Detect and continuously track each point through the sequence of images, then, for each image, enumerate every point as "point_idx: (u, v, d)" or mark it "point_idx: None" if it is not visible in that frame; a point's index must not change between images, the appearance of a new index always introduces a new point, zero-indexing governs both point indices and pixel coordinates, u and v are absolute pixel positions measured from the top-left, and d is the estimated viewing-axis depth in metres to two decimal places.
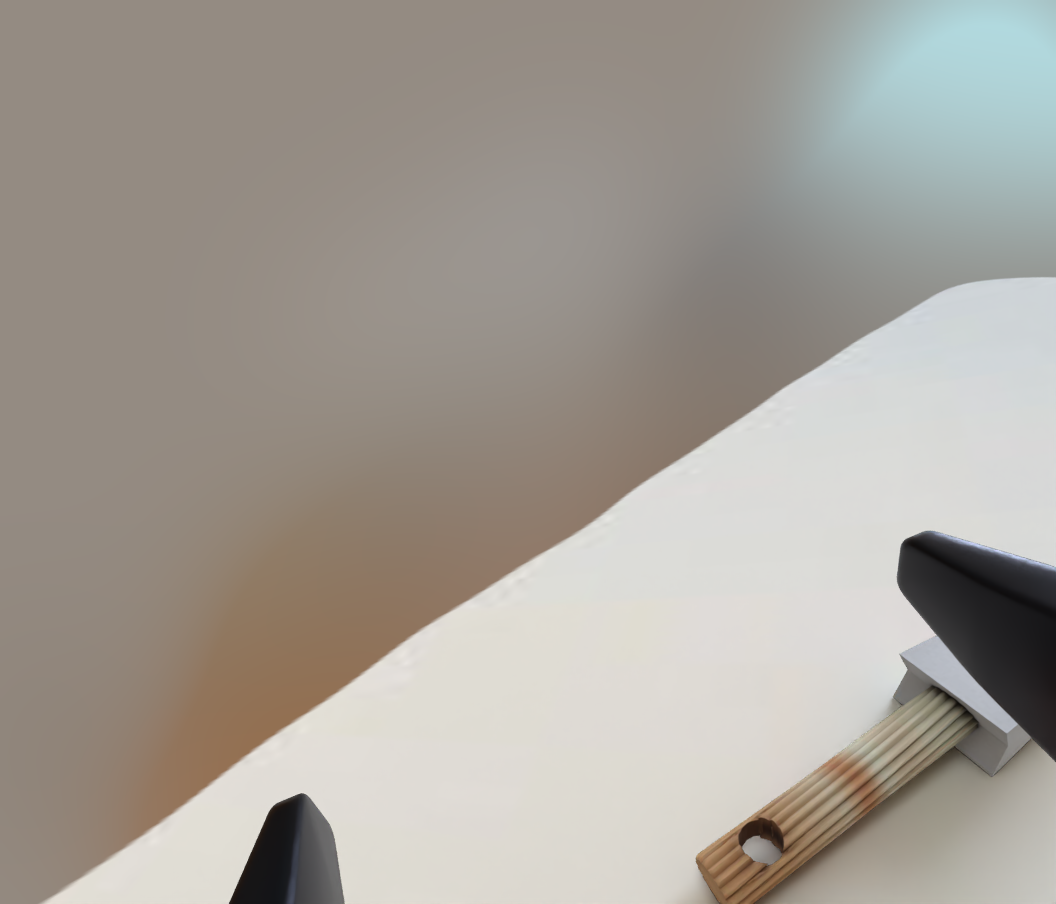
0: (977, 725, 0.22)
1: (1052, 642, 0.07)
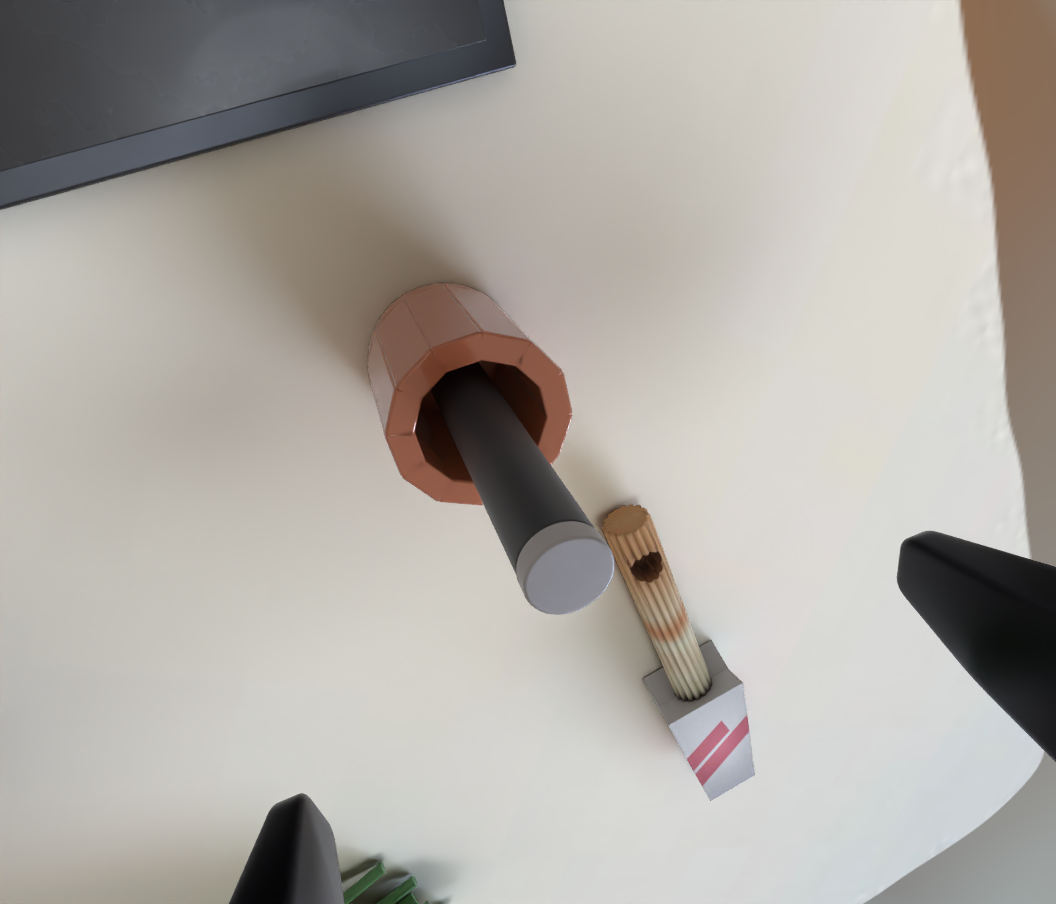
0: (676, 694, 0.29)
1: (1052, 642, 0.07)
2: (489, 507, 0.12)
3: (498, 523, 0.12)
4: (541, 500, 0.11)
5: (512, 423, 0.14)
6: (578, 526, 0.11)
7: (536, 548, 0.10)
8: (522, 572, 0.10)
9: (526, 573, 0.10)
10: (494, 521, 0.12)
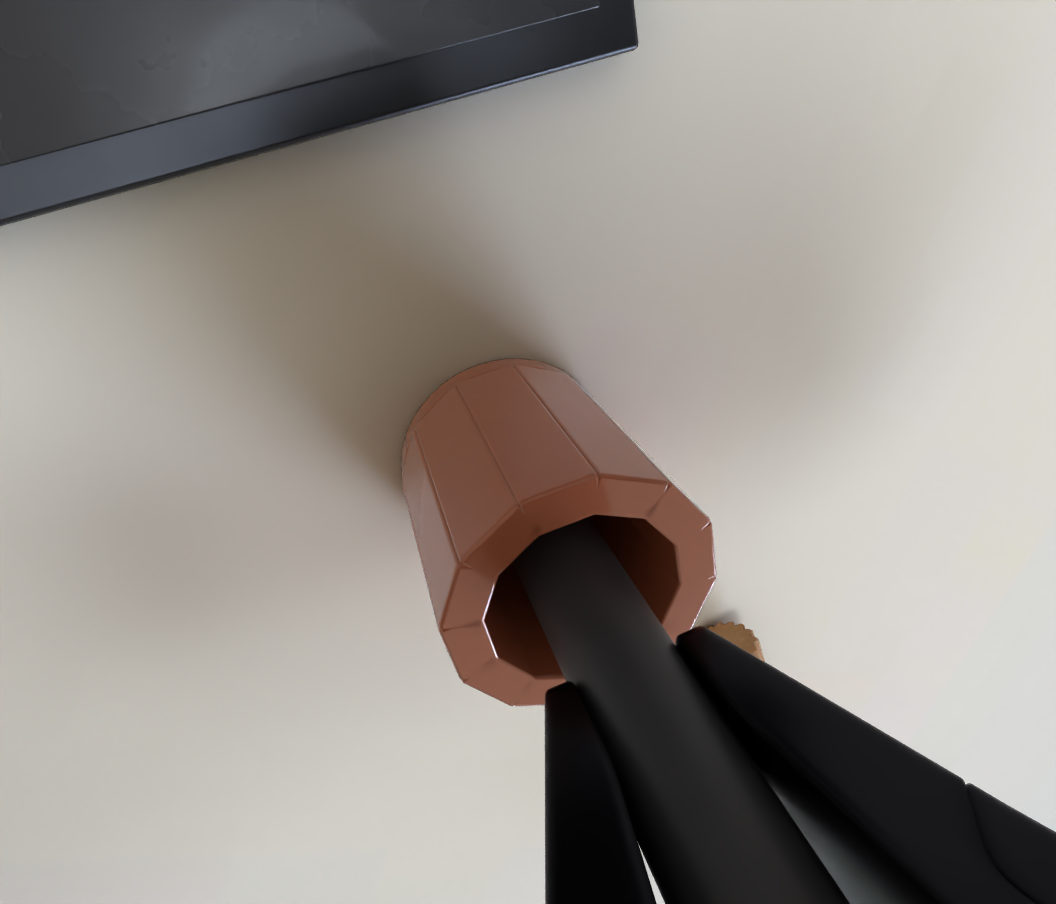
0: None
1: (776, 770, 0.07)
2: (644, 840, 0.07)
3: (674, 899, 0.06)
4: (775, 893, 0.06)
5: (653, 634, 0.09)
6: None
7: None
8: None
9: None
10: (660, 881, 0.07)
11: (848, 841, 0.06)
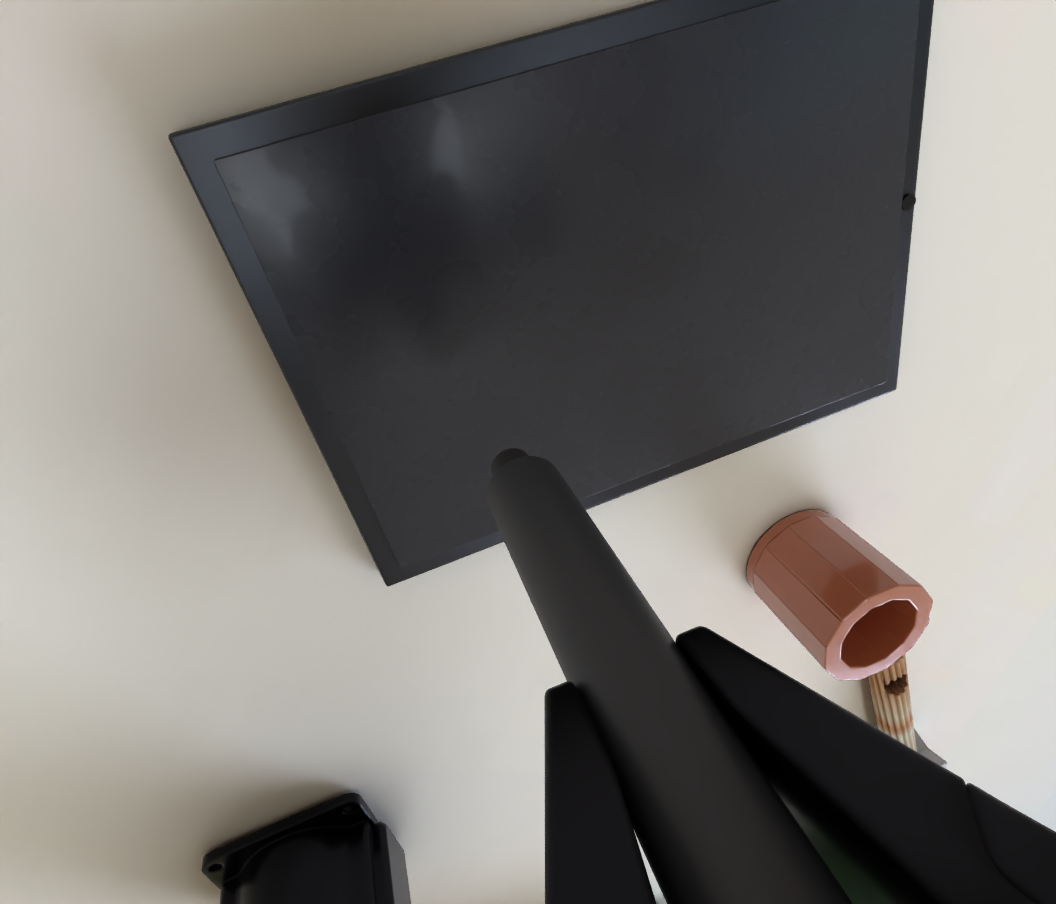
0: None
1: (776, 770, 0.07)
2: (646, 839, 0.07)
3: (676, 900, 0.06)
4: (777, 891, 0.06)
5: (654, 633, 0.09)
6: None
7: None
8: None
9: None
10: (662, 880, 0.07)
11: (848, 841, 0.06)
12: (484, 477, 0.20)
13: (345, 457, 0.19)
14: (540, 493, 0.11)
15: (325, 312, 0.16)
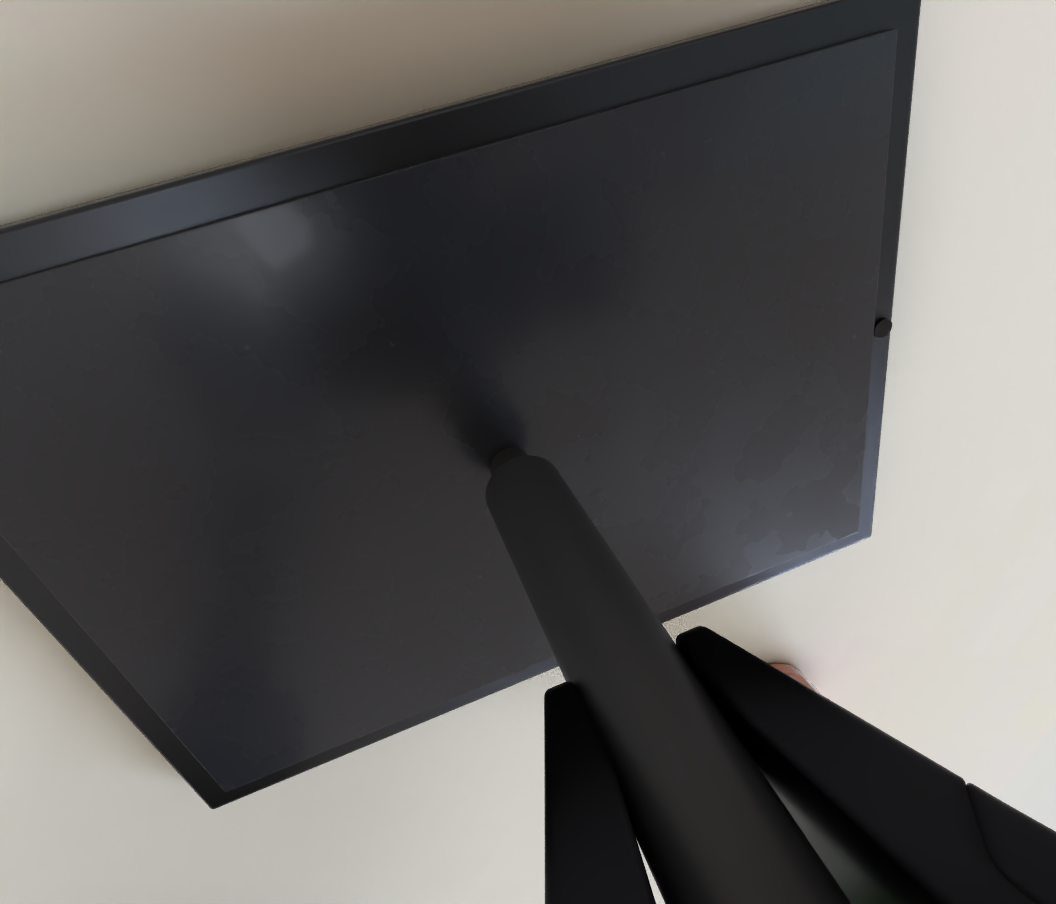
0: None
1: (776, 770, 0.07)
2: (644, 838, 0.07)
3: (674, 898, 0.06)
4: (775, 890, 0.06)
5: (652, 633, 0.09)
6: None
7: None
8: None
9: None
10: (660, 880, 0.07)
11: (849, 841, 0.06)
12: (328, 683, 0.15)
13: (125, 677, 0.14)
14: (539, 492, 0.11)
15: (56, 515, 0.12)
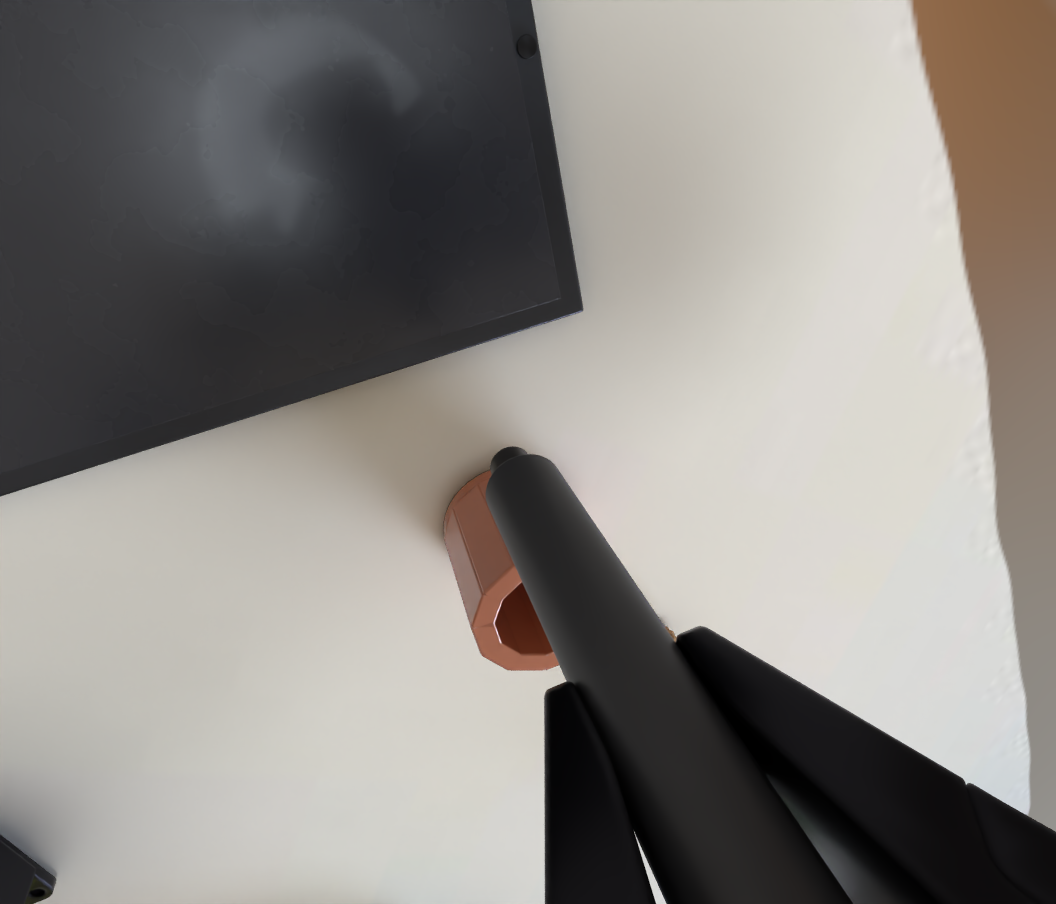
0: None
1: (776, 770, 0.07)
2: (644, 837, 0.07)
3: (674, 898, 0.06)
4: (776, 888, 0.06)
5: (653, 631, 0.09)
6: None
7: None
8: None
9: None
10: (660, 878, 0.06)
11: (848, 841, 0.06)
12: None
13: None
14: (539, 491, 0.11)
15: None
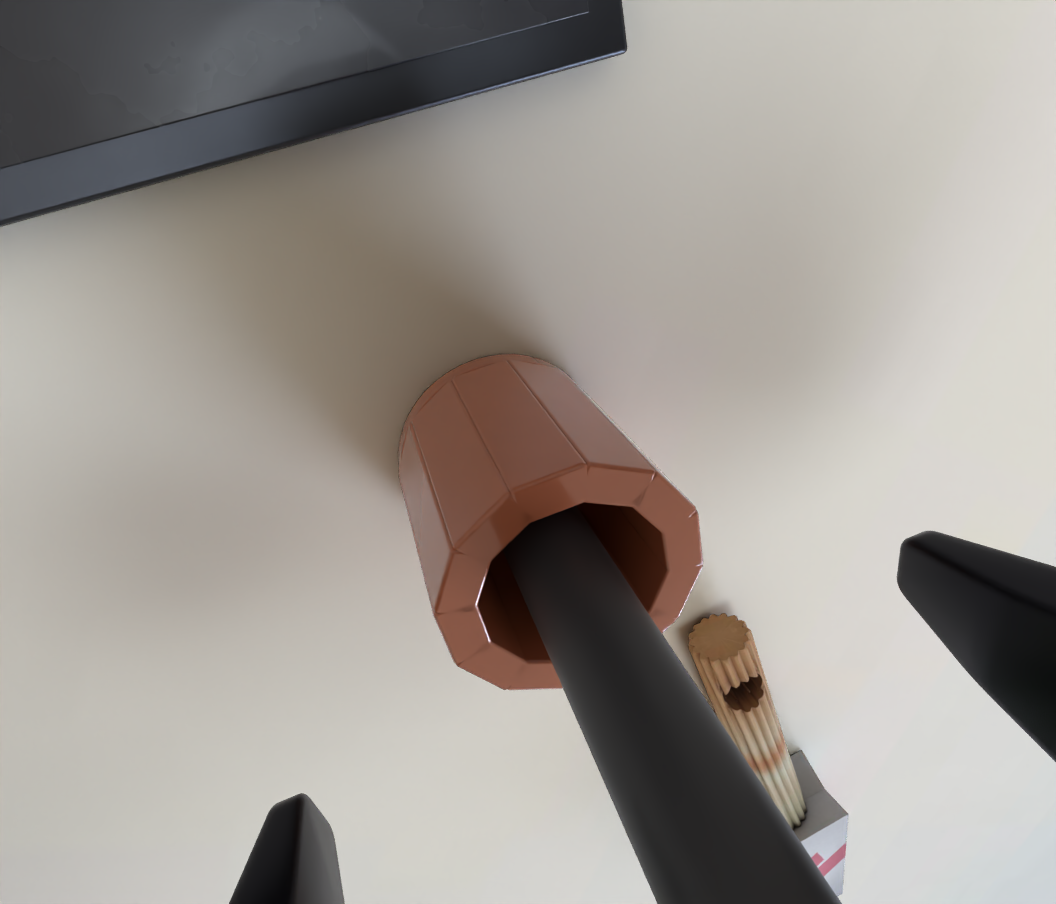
0: None
1: (1052, 642, 0.07)
2: (622, 808, 0.07)
3: (649, 862, 0.07)
4: (742, 853, 0.06)
5: (635, 616, 0.09)
6: None
7: None
8: None
9: None
10: (637, 846, 0.07)
11: None
12: None
13: None
14: None
15: None
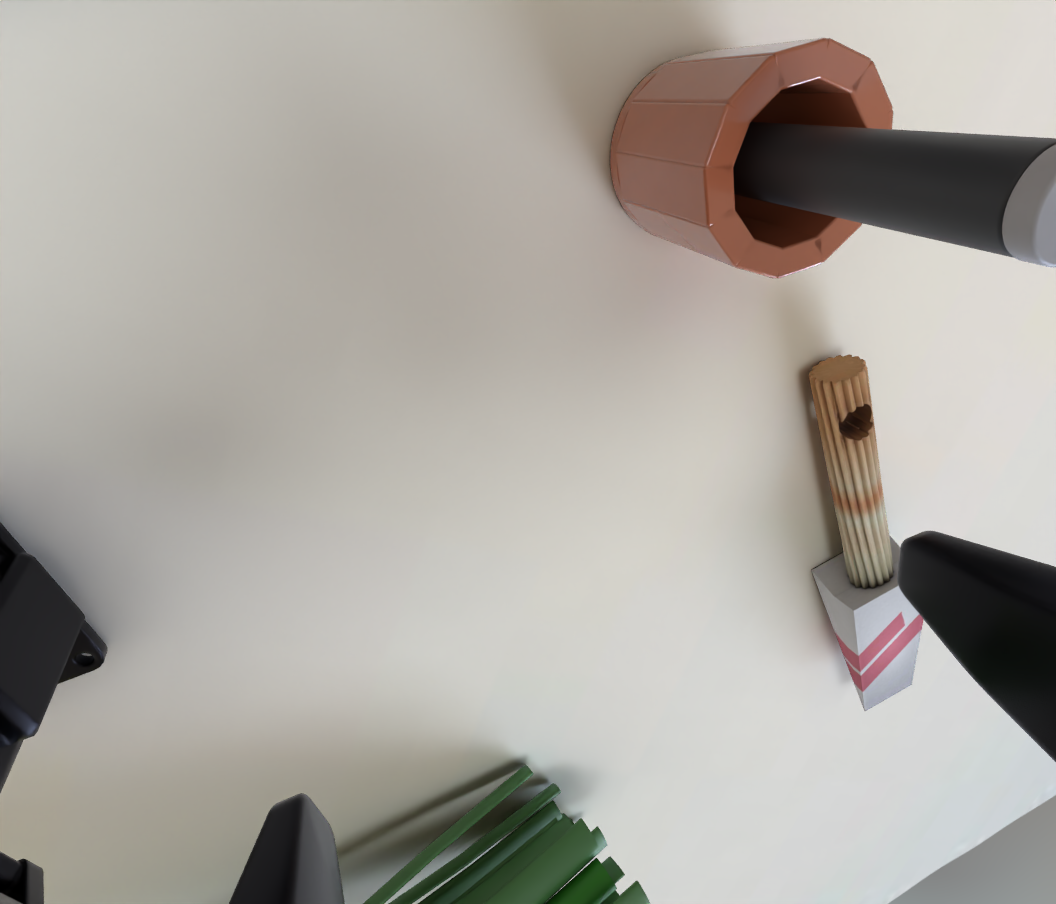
0: (852, 584, 0.28)
1: (1052, 642, 0.07)
2: (905, 182, 0.10)
3: (939, 183, 0.10)
4: (1016, 138, 0.09)
5: None
6: None
7: None
8: (1035, 192, 0.09)
9: (1048, 187, 0.08)
10: (923, 190, 0.10)
11: None
12: None
13: None
14: None
15: None
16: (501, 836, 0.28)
